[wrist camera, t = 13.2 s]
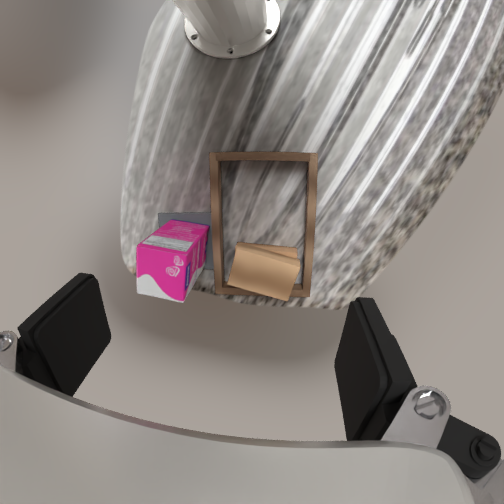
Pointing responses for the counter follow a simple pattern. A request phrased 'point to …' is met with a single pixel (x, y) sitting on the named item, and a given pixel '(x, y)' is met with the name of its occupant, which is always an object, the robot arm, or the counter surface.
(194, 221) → the mat
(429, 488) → the robot arm
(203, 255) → the supplement box
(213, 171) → the wooden frame tray
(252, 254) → the offcut upper
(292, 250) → the offcut lower
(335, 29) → the counter surface
